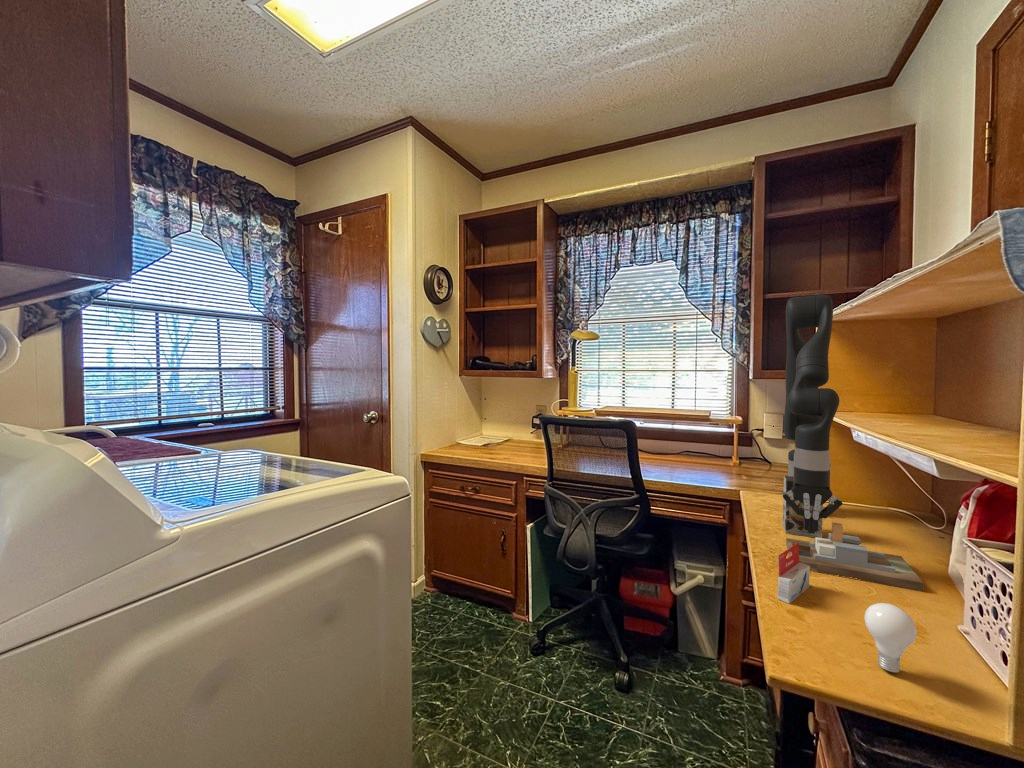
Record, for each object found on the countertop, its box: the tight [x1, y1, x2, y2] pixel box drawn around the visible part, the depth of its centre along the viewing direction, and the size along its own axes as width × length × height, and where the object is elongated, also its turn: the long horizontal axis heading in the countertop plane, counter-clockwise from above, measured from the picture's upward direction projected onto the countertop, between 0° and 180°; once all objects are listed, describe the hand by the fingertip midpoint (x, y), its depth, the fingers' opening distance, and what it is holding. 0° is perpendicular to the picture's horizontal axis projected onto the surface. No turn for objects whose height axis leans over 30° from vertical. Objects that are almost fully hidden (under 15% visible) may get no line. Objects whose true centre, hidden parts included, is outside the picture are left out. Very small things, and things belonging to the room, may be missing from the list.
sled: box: [815, 522, 855, 557], centre depth 102 cm, size 6×8×8 cm
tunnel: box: [809, 532, 896, 573], centre depth 101 cm, size 9×15×4 cm, turn 61°
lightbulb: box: [863, 602, 918, 673], centre depth 67 cm, size 6×6×11 cm
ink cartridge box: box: [777, 543, 811, 604], centre depth 90 cm, size 2×11×10 cm, turn 125°
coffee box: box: [782, 475, 824, 538], centre depth 121 cm, size 9×6×16 cm
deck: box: [785, 537, 925, 593], centre depth 102 cm, size 14×24×2 cm, turn 61°
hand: (810, 532), depth 105 cm, fingers closed
